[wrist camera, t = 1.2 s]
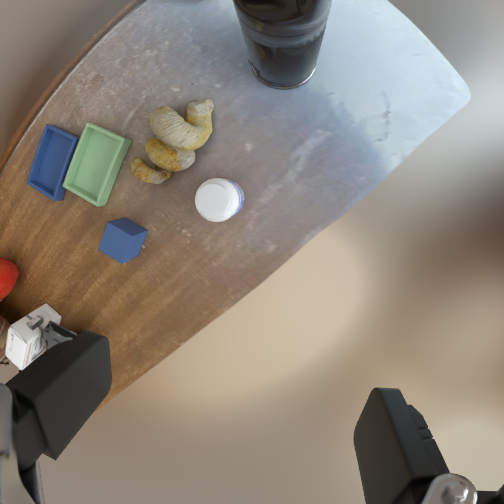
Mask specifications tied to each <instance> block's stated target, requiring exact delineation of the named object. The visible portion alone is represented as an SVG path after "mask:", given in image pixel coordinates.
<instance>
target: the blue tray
mask: <svg viewBox="0 0 504 504" xmlns="http://www.w3.org/2000/svg"><path fill="white" fill-rule="evenodd" d="M80 138H81V137H79V136H76V135H74V134H72V133H70V132H68V131H66V130H64V129H61V128H59V127H57V126H55V125H49V124H46V127H45V129H44V132H43V135H42V137H41V140H40V143H39V146H38V149H37V152H36V155H35V158H34V161H33V164H32V167H31V170H30V174H29V177H28V180H27V184H29V185H30V186H32V187H33V188H35V189H36V190H38V191H39V192H41V193H43V194H44V195H46V196H47V197H49V198H50V199H52V200H53V201H58V200H63V198H64V194H65V191H66V188H65V187H63V184H64V181H65V178H66V175H67V172H68V169H69V166H70V163H71V161H72V158H73V155H74V153H75V150H76V148H77V145H78V142H79V140H80Z"/></svg>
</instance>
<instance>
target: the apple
mask: <svg viewBox="0 0 504 504" xmlns="http://www.w3.org/2000/svg"><path fill="white" fill-rule="evenodd" d="M18 275H19V271H18V268H17V266H16V265H15V264H14V263H12V262H11V261H9V260H6V259H4V258H1V257H0V300H2V299H3V298H5V297H6V296H7V295H8V294H9V293H10V292H11V291H12V289H13V288H14V286H15V283H16V281H17V278H18Z"/></svg>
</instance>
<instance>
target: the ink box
mask: <svg viewBox="0 0 504 504" xmlns="http://www.w3.org/2000/svg"><path fill="white" fill-rule="evenodd" d="M61 318H62V317H61V316H60V315H59V314H58V313H57V312H56V311H55V310H54V309H52V308H51V307H50V306H49V305H48V304H47V303H45V304H44V305H42V306H40V307H39V308H37V309H36V310H34V311H32V312H31V313H29V314H28V315H26V316H24V317H23V318H21V319H20V320H18V321H17V322H15V323H13V324H12V325H10V328H9V329H8V334H7V341H6V349H5V355H6V357H8V358H9V359H10V360H11V361H12V362H13V363H14V364H15V365H16V366H17V367H18V368H19V369H20V370H21V371H22V370H23V369H24V368H26V367H27V366H28V365H29V364H30V363H31V362H33V361H34V360H35V359H36V358H37V357H38V356H40V355H41V354H42V353H43V352H44V351H46V350H47V349H48V348H47V344H46V342H45V340H44V339H43V331H44V328H45V327H46V326H47V324H48V323H49V320H51V321H53V322H55V323H57V324H58V325H59V324H60V321H61Z"/></svg>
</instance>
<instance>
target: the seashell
mask: <svg viewBox="0 0 504 504" xmlns="http://www.w3.org/2000/svg"><path fill="white" fill-rule="evenodd" d="M213 108H214V105H213V103H212V101H211V100H209V99H207V98H206V99H203V100H200V101H196V102H190V103H188V104H187V106H186V110H185V121H184V120H183V118H182V117H181V116H180V115H178V113H177V112H175V111H174V110H173V109H172V108H170V107H168V106H163V107H160V108H157V109H155V110H154V111H153V112H152V113H151V114H150V117H149V126H150V128H151V130H152V132H153V133H154V135H155V136H156V137H153V138H151V139H149V140H148V141H147V142H146V144H145V151H146V153H147V155H148V156H149V158H150V160H151V161H153V162H154V165H155V168H156V170H155V169H152V168H150V167H149V166H147V165H145V164H144V163H143V160H142V159H141V157H138V158H135V159H134V160H133V161H132V164H131V171H132V174H133V175H134V176H135V177H136V178H138V179H139V180H141V181H143V182H145V183H152V184H158V183H162V182H163V181H165V180H166V179H168V178H169V177H170V176H171V173H172V171H174V172H178V171H182V170H184V169H186V168H188V167H189V166H190V165H191V164H192V163H193V162H194V161H195V153H194V149H197V148H199V147H201V146H202V145H203V144H205V143H206V141H207V139H208V138H209V136H210V134H211V133H212V122H211V115H212V114H211V112H212V110H213Z"/></svg>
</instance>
